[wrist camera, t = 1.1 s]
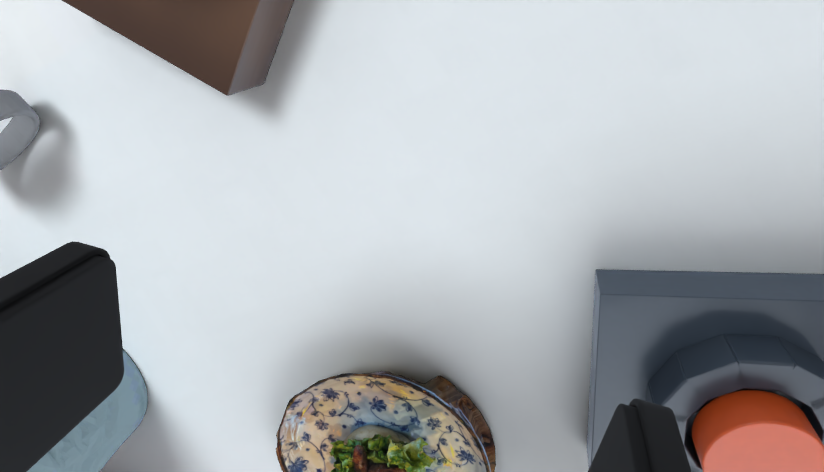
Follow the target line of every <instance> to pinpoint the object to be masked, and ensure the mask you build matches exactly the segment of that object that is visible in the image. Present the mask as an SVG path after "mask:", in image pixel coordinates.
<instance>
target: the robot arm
mask: <svg viewBox="0 0 824 472" xmlns="http://www.w3.org/2000/svg"><path fill="white" fill-rule="evenodd" d="M123 375H124V360H123V348H122V337H121V325H120V313H119V301H118V289H117V277H116V267H115V263H114V262H113V261H112V260H111V259H110V256H109V254H108V253H107V251H105V250H104V249H101V248H97V247H94V246H90V245H87V244H83V243H80V242H70V243H67V244H65V245H63V246H61V247H59V248H57V249H56V250H54V251H52V252H50V253H48V254H46V255H44V256H42V257H40V258H38V259H36V260H35V261H33V262H31V263H29V264H27V265H25V266H23V267H21V268H19V269H17V270H15V271H14V272H12V273H10V274H8V275H6V276H4V277H2V278H0V472H27V471H28V470H29V469H30V468H31V467H32V466H33V465H34V464H36V463H37V462H38V461H39V460H40V459H41V458H42V457H43V456H44V455H45V454H46V453H47V452H49V451H50V450H51V449H52V448H53V447H54V446H55V445H56V444H57V443H58V442H59V441H60V440H62V439H63V438H64V437H65V436H66V435H67V434H68V433H69V432H70V431H71V430H72V429H74V428H75V427H76V426H77V425H78V424H79V423H80V422H81V421H82V420H83V419H84V418H85V417H87V416H88V415H89V414H90V413H91V412H92V411H93V410H94V409H95V408H96V407H97V406H98V405H100V404H101V403H102V402H103V401H104V400H105V399H106V398H107V397H108V396H109V395H110V394H111V393H113V392H114V391H115V390H116V389H117V387H118V386H119V385H120V383H121V381H122V379H123ZM588 472H691V468H690V465H689V462H688V458H687V455H686V452H685V448H684V445H683V441H682V438H681V435H680V431H679V428H678V425H677V421H676V418H675V415H674V413H673V410H672V409H671V408H669V407H665V406H662V405H658V404H655V403H651V402H647V401H644V400H640V399H637V398H636V399H633V400H632V401H631V402H630V404H629V405H625V404H622V403H621V404H619V405H618V406H617V408H616V410H615V412H614V414H613V416H612V419H611V421H610V423H609V425H608V428H607V430H606V432H605V434H604V437H603V439H602V441H601V443H600V446H599V448H598V450H597V452H596V455H595V457H594V459H593V461H592V464H591V466H590V468H589V470H588Z"/></svg>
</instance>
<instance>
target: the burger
mask: <svg viewBox="0 0 824 472" xmlns="http://www.w3.org/2000/svg"><path fill="white" fill-rule="evenodd" d="M276 436H277V439H278V443H277V448H276V453H277V457H278V461H279V463H280V466H281V469H282V471H283V472H494V470H495V465H496V461H495V446H494V442H493V439H492V435H491V432H490V429H489V427H488V426H487V424H486V422H485V420H484V418H483V416H482V414H481V413H480V411H479V410H478V409H477V407H476V406H475V405H474V404H473V403H472V401H471V400H470V399H469V398H468V397H467V396H466V395H463V394H462V393H461V392H459V391H458V390H457V389H456V387H455V386H454V385H453V384H452V383H451V382H449V381H448V380H446V379H445V378H443V377H441V376H437V377H436V378H434V379H432V380H430V381H428V382H427V383H426V384H422V383H419V382H415V381H413V380H411V379H407V378H405V377H403V376H400V375H395V374H392V373H390V372H384V371H381V372H375V373H368V374H352V373H348V374H341V375H337V376H333V377H330V378H327V379H323V380H320V381H318V382H316V383H315V384H313V385H312V386H310V387H309V388H307V389H305V390H304V391H302V392H300V393H299V394H297V395H295V396H294V397H293V398H292V399H291V400H290V401H289V403H288V405H287V408H286V410H285V413H284V416H283V419H282V422H281V424H280V427H279V430H278V432H277V435H276Z"/></svg>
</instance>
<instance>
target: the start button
mask: <svg viewBox="0 0 824 472" xmlns="http://www.w3.org/2000/svg"><path fill="white" fill-rule="evenodd" d="M692 439H693V442H694V446H695V449H696V452H697V455H698V458H699V461H700V464H701V467H702V470H703V472H824V445H823V443H822V441H821V440H820V438H819V436H818V435H817V433H816V432H815V430H814V428H813V427H812V425H811V423H810V422H809V420H808V418H807V417H806V415H805V414H804V412H803V411H802V410H801V409H800V408H799V407H798V406H797V405H796V404H795V403H793V402H792V401H790V400H789V399H787V398H785V397H783V396H780V395H778V394H775V393H772V392H767V391H760V390H741V391H735V392H731V393H728V394H725V395H722V396H719V397H717V398H715V399H713V400H712V401H710V402H709V403H707V404H706V405H705V406H704V407H703V408H702V409H701V410H700V411H699V412H698V414H697V416H696V417H695V419H694V422H693V425H692Z"/></svg>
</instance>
